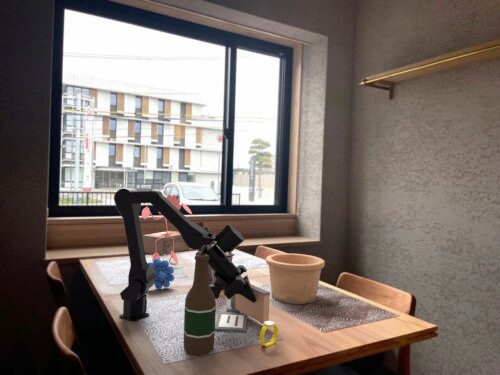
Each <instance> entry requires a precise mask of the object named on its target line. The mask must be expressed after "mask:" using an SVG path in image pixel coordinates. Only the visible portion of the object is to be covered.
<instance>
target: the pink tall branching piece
mask: <svg viewBox="0 0 500 375" xmlns="http://www.w3.org/2000/svg"><path fill="white" fill-rule="evenodd" d="M166 196H167V197H166ZM166 196H165V197H166V198H167V199H168V200H169V201H170V202H171V203H172V204H173V205H174V206H175V207H176V208H177V209H178V210H179V211H181V208H182V207H183V209H184V210H185V212H187V213H188V214H190V215H193V213H192V210H191V209H190V208H189V206H188V205H186V204H185V203H183V202H181V199H179V198H178V199H177V195H176V194H174V193H173V195H171V194H167V195H166ZM180 203H181V204H180ZM158 214H159V215H162V214H161V213H160V212H159V211H158ZM150 216H151V218H152V219H153V220H154V221H156V220H160V219H162V218H163V219H164V221H165V225H166V226H165V227H166V231H167V232H166V231H165V232H166V233H165V234H164V237H166V238H168V237H169V236H170V233H168V231H169V228H168V223H167V221H168V220H167V219H166V218H165V217H164V216H163V215H162V216H160V217H157V218H155V217H154V215H153V214H152V212H151V211H150V208H149V207H148V206H146V207H144V208H143V209H142V211H141V217H142V218H143V219H144V220H146V219H148V217H150ZM170 237H171V236H170ZM161 238H163V237H161ZM161 238H159V239H161ZM171 238H172V237H171ZM159 239H157V240H159ZM172 239H173V251H174V238H172ZM157 240H156V241H157ZM156 241H155V246H156ZM173 251H171V253H170V257H169V261H168V263H171V260H172V259H173V261H174V262H175V263H176V264H178V263H179V260H178V256H177V254H176V252H173ZM156 258H158V259H160V260H161V255H159V254H158V253H157V250H156V253H154V254H152V261H151V262H153V261H154V259H156ZM182 267H183V266H182ZM182 267H178V269H182ZM176 269H177V267H176V268H175V270H176Z"/></svg>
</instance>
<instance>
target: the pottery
mask: <svg viewBox="0 0 500 375" xmlns="http://www.w3.org/2000/svg"><path fill="white" fill-rule="evenodd" d="M265 263H266V265H268V271H269V272H268V273H269V281H270V282H269V283H270V296H271V297H272V298H273V299H274V300H275V301H278V302H280V303H285V304H289V303H290V304H291V305H293V304H294V305H307V304H311V303H313V302H315V301H316V299H317V293H318V289H319V283H320V279H321V278H320V277H321V271H322V269H324V267H325V266H326V261H325V260H324V259H322V258H321V257H318V256H315V255H311V254H309V255H308V254H304V253H303V254H302V253H274V254H270V255H267V256H266V258H265ZM306 303H307V304H306Z"/></svg>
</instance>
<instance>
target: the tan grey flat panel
mask: <svg viewBox="0 0 500 375" xmlns="http://www.w3.org/2000/svg"><path fill="white" fill-rule="evenodd" d="M250 284H251V283H250ZM251 287H252V290H253V292H254V295H255V297H256V302H254V303H253V302H251V301H250V300H248V299H247V298H245V297H244V296H242V295H240V294H235V295H234V296H232V297H231V298H230V303H229V305H230V307H234V308H235V309H236V310H238V311H240V312H241V313H244V314H246V315H247V317H249V318H252V319H254V321H257V322H259V323H261V324H263V325H264V322H265V321H270V318H269V317H270V296H271V291H268V290H266V289H263V288H261V287H259V286H256V285H254V284H251Z"/></svg>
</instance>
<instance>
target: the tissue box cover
mask: <svg viewBox="0 0 500 375" xmlns="http://www.w3.org/2000/svg"><path fill="white" fill-rule="evenodd" d="M166 232H167V230H166V231H161V232H155V233H149V234H142V238H143V244H144V250H145V254H150V255H154V253H156V250H157V253H158V254H159V256H161V255H162V256H165V255H164V254H166V255H168V254H169V253H170V254H171V251H173V239H172V238H174V251H173V252H174V253H179V252H182V251H187V250H190V248H189V247H188V245H187V244H186V243H185V241H184V240H183V239H182V237H181V235H180V232H179V231H178V230H176V231H175V230H168V233H170V236H171V237H172V238H171V237H170V236H169V237H168V238H166V237H164V234H165V233H166ZM161 237H163V238H161ZM159 238H161V239H159ZM157 239H159V240H157ZM156 240H157V241H156ZM155 241H156V246H155Z"/></svg>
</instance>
